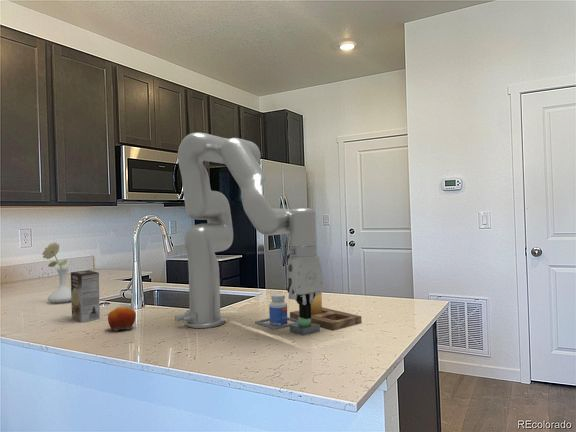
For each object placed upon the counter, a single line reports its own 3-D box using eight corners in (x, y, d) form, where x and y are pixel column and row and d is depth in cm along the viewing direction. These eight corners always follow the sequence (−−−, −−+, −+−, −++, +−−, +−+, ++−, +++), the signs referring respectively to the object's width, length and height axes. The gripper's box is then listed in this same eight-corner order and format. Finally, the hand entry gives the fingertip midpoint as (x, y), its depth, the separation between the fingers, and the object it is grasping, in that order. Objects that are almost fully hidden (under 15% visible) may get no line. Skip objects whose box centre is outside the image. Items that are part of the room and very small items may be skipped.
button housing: (303, 339, 115) (303, 328, 115) (289, 335, 120) (289, 324, 120) (320, 335, 119) (319, 324, 119) (305, 331, 124) (305, 320, 124)
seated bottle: (313, 320, 131) (312, 288, 131) (302, 317, 135) (301, 286, 135) (326, 318, 134) (325, 286, 134) (314, 315, 138) (314, 284, 138)
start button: (303, 327, 117) (303, 319, 117) (295, 324, 120) (295, 317, 120) (313, 324, 119) (313, 317, 119) (305, 322, 122) (304, 315, 122)
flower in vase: (69, 297, 186) (68, 240, 186) (83, 300, 179) (82, 241, 179) (38, 303, 175) (36, 242, 175) (51, 306, 169) (50, 243, 169)
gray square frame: (275, 333, 122) (275, 327, 122) (255, 327, 130) (255, 321, 130) (302, 327, 128) (302, 321, 128) (281, 321, 136) (281, 315, 136)
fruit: (109, 330, 124) (108, 304, 128) (108, 339, 130) (106, 314, 134) (139, 326, 128) (136, 301, 132) (136, 335, 134) (133, 310, 138)
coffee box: (70, 318, 147) (69, 272, 147) (89, 315, 152) (88, 270, 152) (81, 322, 141) (80, 274, 141) (101, 319, 145) (99, 271, 145)
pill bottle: (285, 330, 126) (284, 296, 126) (267, 329, 127) (266, 296, 127) (289, 325, 131) (288, 293, 131) (272, 324, 132) (271, 293, 132)
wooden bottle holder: (332, 334, 119) (332, 323, 119) (290, 322, 134) (289, 312, 134) (361, 326, 127) (361, 316, 127) (318, 316, 142) (317, 306, 142)
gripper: (290, 255, 112) (293, 325, 112) (331, 250, 121) (334, 315, 121) (273, 253, 118) (276, 320, 118) (314, 249, 127) (316, 311, 127)
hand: (305, 317), depth 119 cm, fingers closed
